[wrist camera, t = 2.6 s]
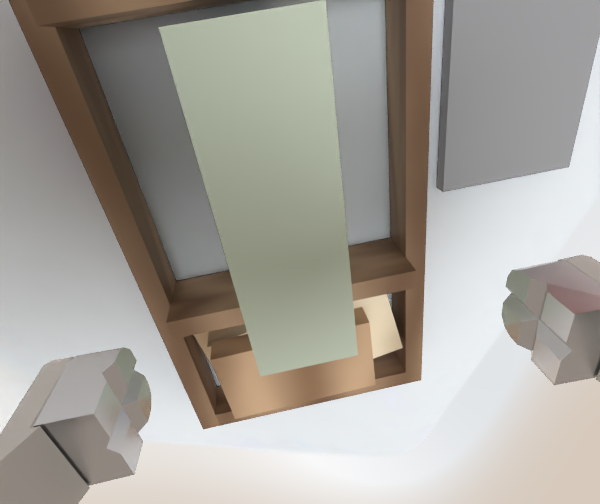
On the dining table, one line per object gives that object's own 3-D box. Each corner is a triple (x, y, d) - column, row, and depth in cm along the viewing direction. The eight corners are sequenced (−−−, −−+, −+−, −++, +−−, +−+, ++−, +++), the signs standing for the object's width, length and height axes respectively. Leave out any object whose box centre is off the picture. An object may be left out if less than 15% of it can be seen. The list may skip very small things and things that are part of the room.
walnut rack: (205, 400, 29) (201, 448, 26) (37, 0, 16) (-19, -10, 12) (407, 355, 30) (430, 396, 27) (409, -59, 17) (455, -84, 13)
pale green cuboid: (251, 252, 23) (260, 376, 15) (197, 33, 17) (158, 27, 9) (313, 240, 24) (358, 355, 15) (281, 19, 17) (325, -1, 9)
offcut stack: (229, 379, 29) (228, 431, 25) (191, 312, 25) (183, 361, 21) (389, 328, 29) (413, 372, 25) (373, 253, 25) (398, 292, 21)
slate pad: (436, 187, 23) (443, 191, 22) (454, -191, 15) (465, -202, 14) (559, 163, 23) (568, 166, 23) (641, -217, 15) (660, -229, 15)
